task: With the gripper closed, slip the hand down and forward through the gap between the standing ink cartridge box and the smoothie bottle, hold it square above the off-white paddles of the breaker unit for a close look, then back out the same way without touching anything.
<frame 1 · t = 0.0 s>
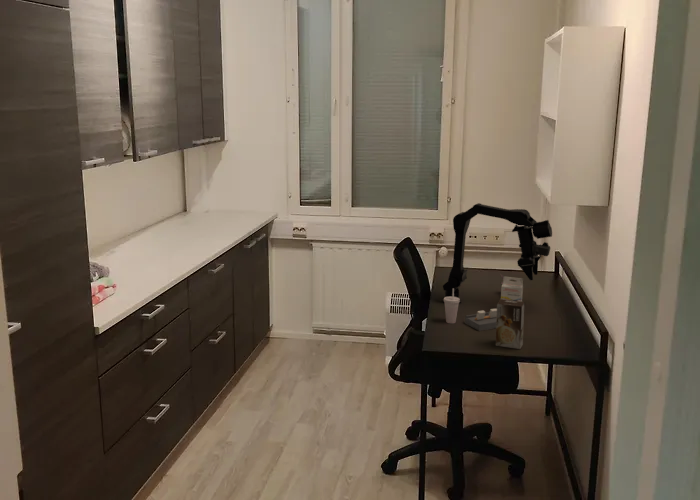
hand: (533, 277, 277), 15 cm above the table, tool pointing down, fingers open, 9 cm apart
breaker paddles: (493, 313, 267), point 4 cm above the table, hinge at 18.0°
smoothie: (450, 322, 270), on the table
breaker unit: (492, 323, 268), on the table
lily: (508, 296, 304), on the table
coffee box: (509, 345, 246), on the table
ink cartridge box: (510, 312, 282), on the table
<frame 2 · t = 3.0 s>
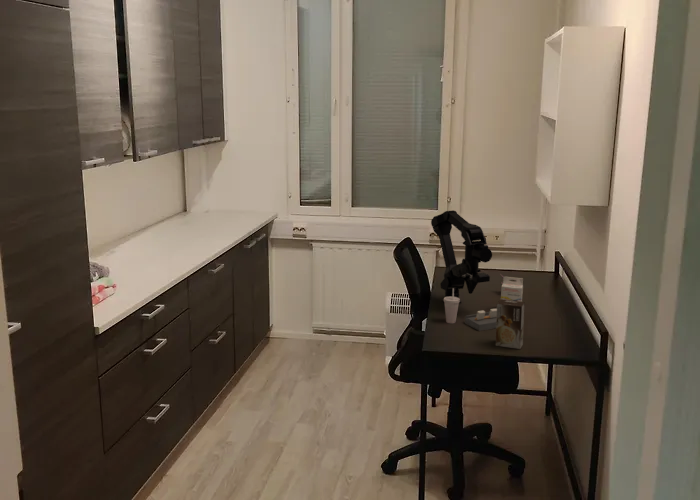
hand: (470, 293, 280), 8 cm above the table, tool pointing down, fingers closed
nothing on the table moved.
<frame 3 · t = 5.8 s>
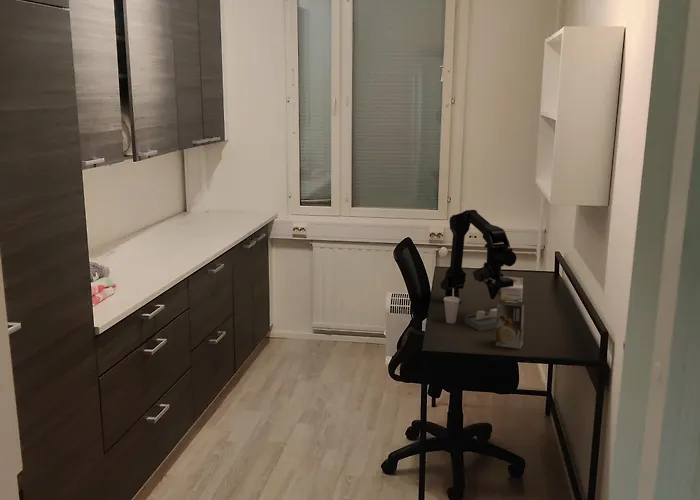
hand: (492, 299, 266), 10 cm above the table, tool pointing down, fingers closed
nothing on the table moved.
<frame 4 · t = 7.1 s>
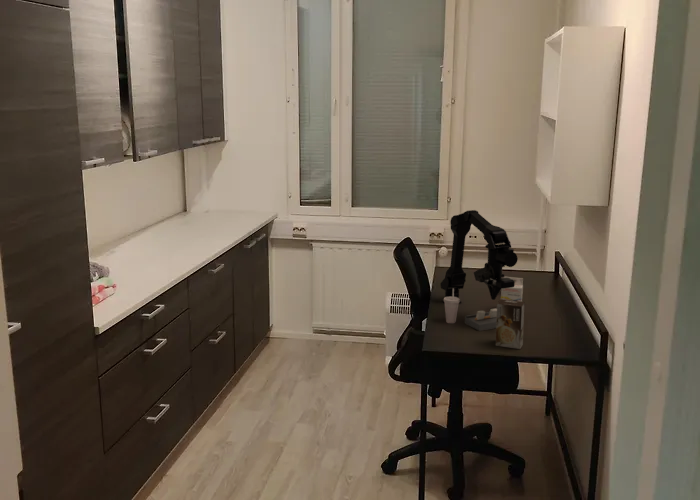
hand: (493, 299, 266), 10 cm above the table, tool pointing down, fingers closed
nothing on the table moved.
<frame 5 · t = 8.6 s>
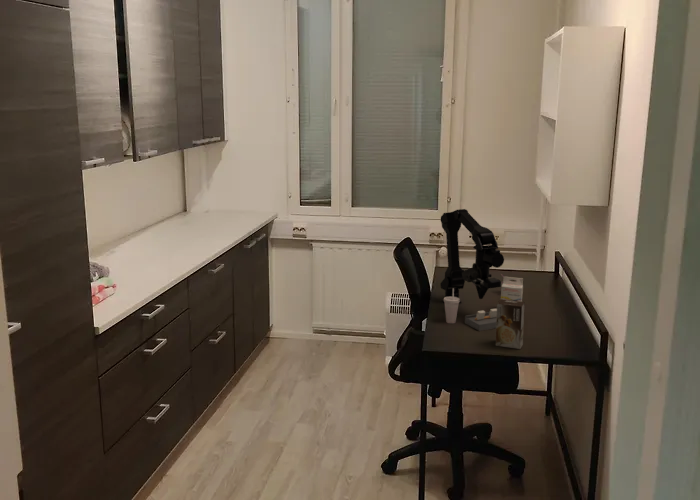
hand: (480, 298, 274), 8 cm above the table, tool pointing down, fingers closed
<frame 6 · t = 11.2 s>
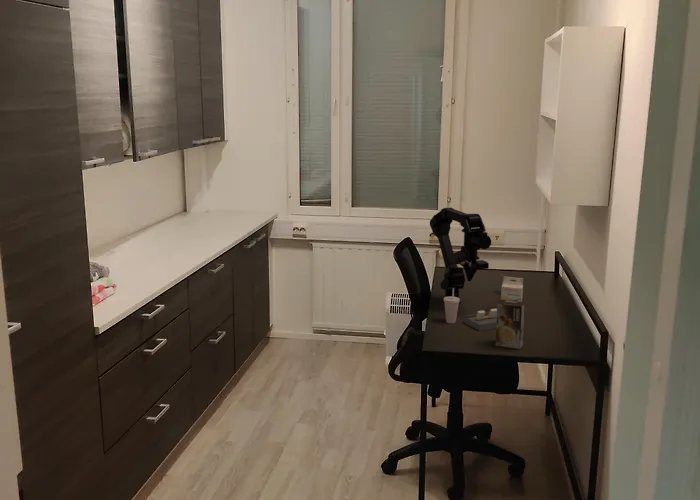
hand: (469, 281, 281), 13 cm above the table, tool pointing down, fingers closed
at the end: ink cartridge box moved 0.2 cm from its start; smoothie moved 0.2 cm from its start; breaker paddles at +18° (first picture: +18°) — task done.
